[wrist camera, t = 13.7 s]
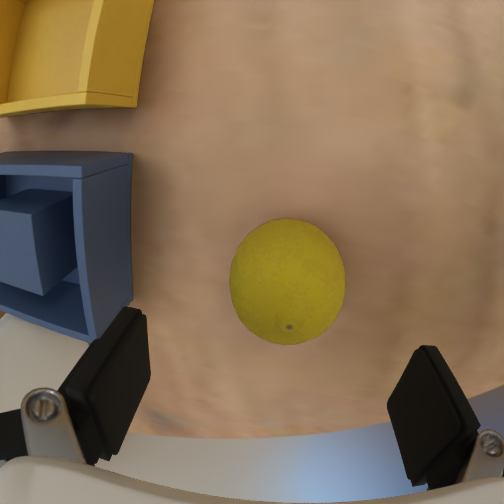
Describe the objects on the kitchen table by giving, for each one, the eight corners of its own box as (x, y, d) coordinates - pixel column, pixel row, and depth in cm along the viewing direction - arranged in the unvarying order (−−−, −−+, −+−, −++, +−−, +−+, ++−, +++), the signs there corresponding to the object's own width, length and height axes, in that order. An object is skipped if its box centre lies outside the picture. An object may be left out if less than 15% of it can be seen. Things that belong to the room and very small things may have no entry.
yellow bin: (27, -1, 12) (-19, -13, 7) (164, -36, 12) (129, -76, 7) (6, 117, 16) (-47, 124, 11) (137, 107, 16) (85, 104, 11)
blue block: (29, 188, 18) (-19, 207, 13) (79, 192, 18) (31, 214, 13) (35, 251, 20) (-6, 279, 15) (84, 262, 20) (43, 296, 15)
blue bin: (5, 151, 17) (-47, 165, 12) (133, 153, 17) (81, 166, 12) (17, 269, 21) (-24, 299, 16) (133, 298, 21) (98, 346, 16)
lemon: (222, 253, 19) (189, 332, 12) (278, 183, 17) (279, 226, 10) (291, 303, 20) (295, 395, 13) (349, 241, 18) (390, 315, 11)
